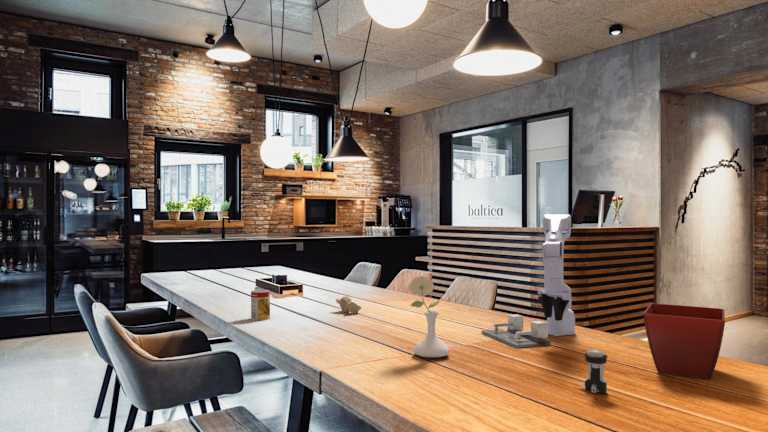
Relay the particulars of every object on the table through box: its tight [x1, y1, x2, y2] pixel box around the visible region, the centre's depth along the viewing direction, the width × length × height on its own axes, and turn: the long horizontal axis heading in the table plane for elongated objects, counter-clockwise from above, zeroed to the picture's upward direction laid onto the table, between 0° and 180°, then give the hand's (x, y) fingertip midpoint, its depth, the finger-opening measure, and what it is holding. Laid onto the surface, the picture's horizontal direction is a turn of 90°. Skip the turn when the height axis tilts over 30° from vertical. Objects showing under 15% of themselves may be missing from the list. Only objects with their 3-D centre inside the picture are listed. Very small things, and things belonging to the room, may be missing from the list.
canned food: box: [250, 289, 271, 322], centre depth 231 cm, size 8×8×12 cm
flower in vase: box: [408, 275, 451, 359], centre depth 168 cm, size 13×11×25 cm
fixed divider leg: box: [492, 313, 524, 331], centre depth 199 cm, size 11×4×5 cm, turn 108°
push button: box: [579, 349, 608, 396], centre depth 133 cm, size 7×5×10 cm
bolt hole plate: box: [481, 328, 539, 349], centre depth 190 cm, size 8×24×1 cm, turn 18°
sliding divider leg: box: [515, 320, 549, 339], centre depth 184 cm, size 11×4×5 cm, turn 108°
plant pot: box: [643, 302, 726, 380], centre depth 150 cm, size 19×19×17 cm
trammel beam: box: [506, 326, 552, 346], centre depth 192 cm, size 2×24×2 cm, turn 18°
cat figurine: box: [335, 295, 362, 314], centre depth 245 cm, size 8×7×12 cm
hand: (553, 318), depth 178 cm, fingers open, 5 cm apart
